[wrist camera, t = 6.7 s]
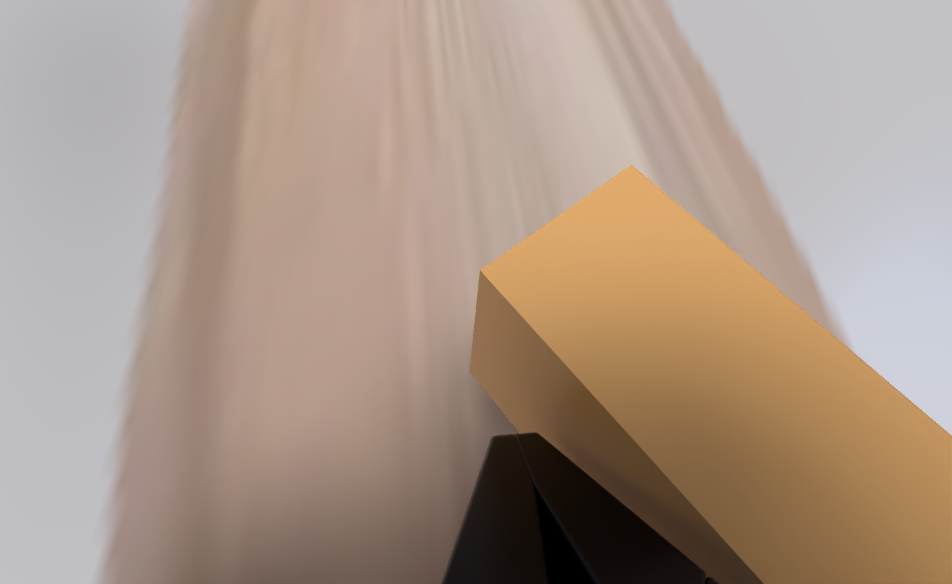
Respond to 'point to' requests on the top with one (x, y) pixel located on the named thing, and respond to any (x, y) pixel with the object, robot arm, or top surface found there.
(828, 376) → the swing bar
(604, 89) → the top surface
